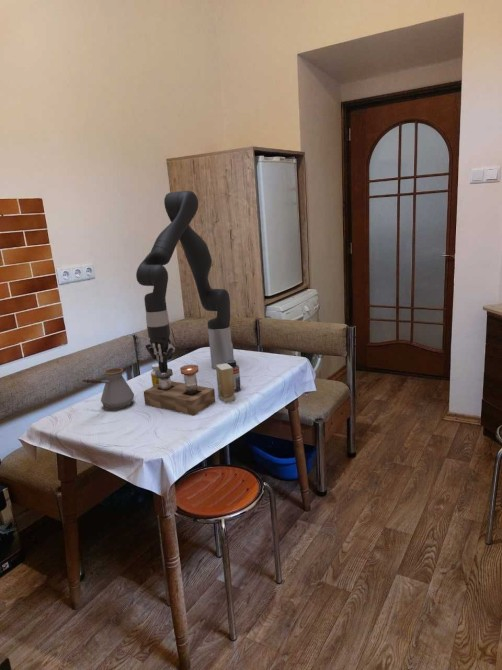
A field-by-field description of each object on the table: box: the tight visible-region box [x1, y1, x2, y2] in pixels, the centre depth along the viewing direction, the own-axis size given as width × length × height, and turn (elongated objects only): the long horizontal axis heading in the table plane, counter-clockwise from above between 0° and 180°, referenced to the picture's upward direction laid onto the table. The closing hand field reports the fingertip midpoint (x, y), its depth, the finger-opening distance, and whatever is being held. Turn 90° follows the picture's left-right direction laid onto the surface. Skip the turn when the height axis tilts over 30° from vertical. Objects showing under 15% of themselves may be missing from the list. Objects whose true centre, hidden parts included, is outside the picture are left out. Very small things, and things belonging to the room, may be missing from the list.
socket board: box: [142, 380, 216, 416], centre depth 166 cm, size 12×22×5 cm, turn 57°
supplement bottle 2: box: [225, 358, 242, 393], centre depth 174 cm, size 6×6×11 cm
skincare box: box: [215, 363, 236, 403], centre depth 166 cm, size 6×4×12 cm
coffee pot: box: [79, 367, 135, 410], centre depth 163 cm, size 21×12×15 cm, turn 158°
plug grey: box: [155, 368, 174, 391], centre depth 168 cm, size 6×6×10 cm
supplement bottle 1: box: [150, 363, 159, 387], centre depth 181 cm, size 5×5×10 cm
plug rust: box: [179, 364, 200, 396], centre depth 161 cm, size 6×6×10 cm
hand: (163, 371), depth 167 cm, fingers closed
